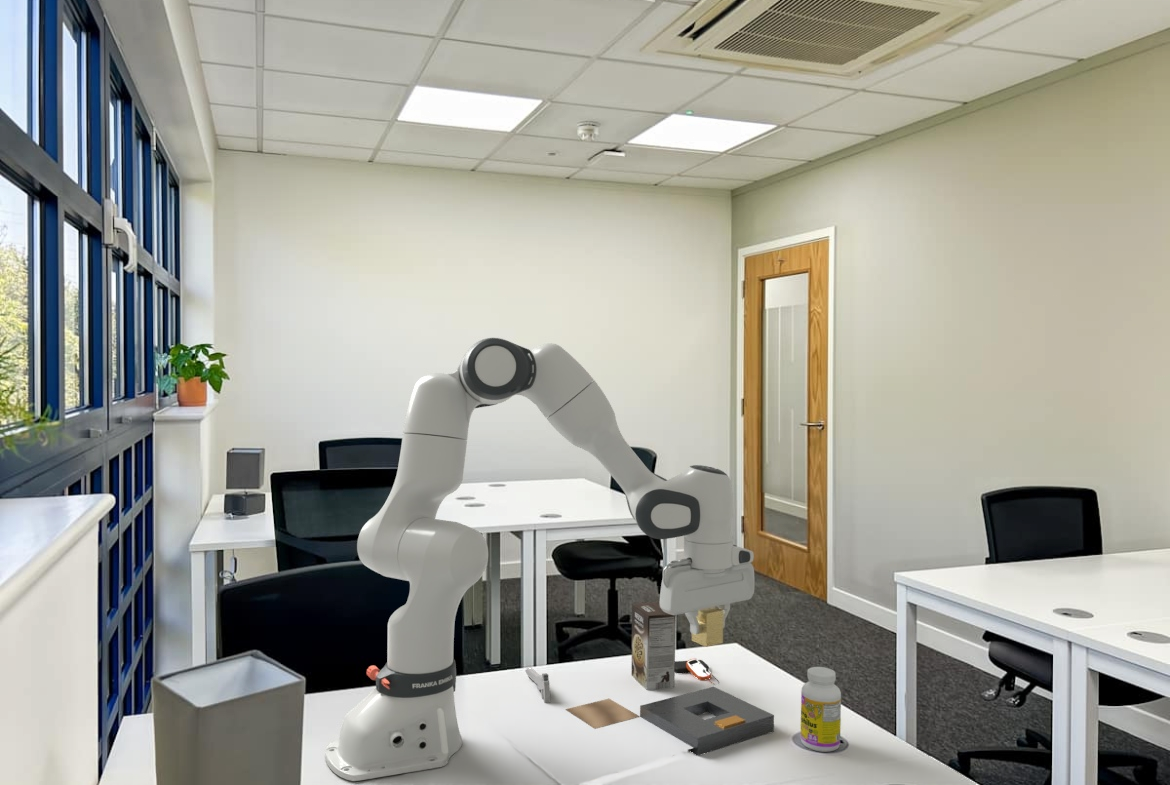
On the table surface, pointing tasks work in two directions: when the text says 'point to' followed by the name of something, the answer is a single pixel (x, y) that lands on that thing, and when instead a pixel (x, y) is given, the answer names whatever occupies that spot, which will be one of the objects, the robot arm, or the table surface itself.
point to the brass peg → (710, 627)
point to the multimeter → (694, 668)
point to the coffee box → (653, 646)
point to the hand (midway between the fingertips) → (707, 630)
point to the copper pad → (602, 713)
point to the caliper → (541, 683)
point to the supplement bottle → (820, 710)
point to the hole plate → (714, 733)
